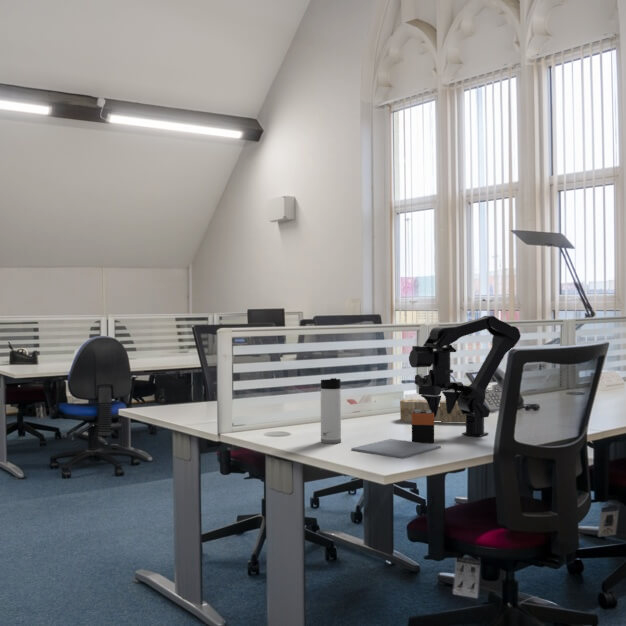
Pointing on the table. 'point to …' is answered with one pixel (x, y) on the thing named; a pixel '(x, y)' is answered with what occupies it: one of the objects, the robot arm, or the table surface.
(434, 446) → the mat
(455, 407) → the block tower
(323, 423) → the travel mug
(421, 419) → the battery
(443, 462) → the table surface
